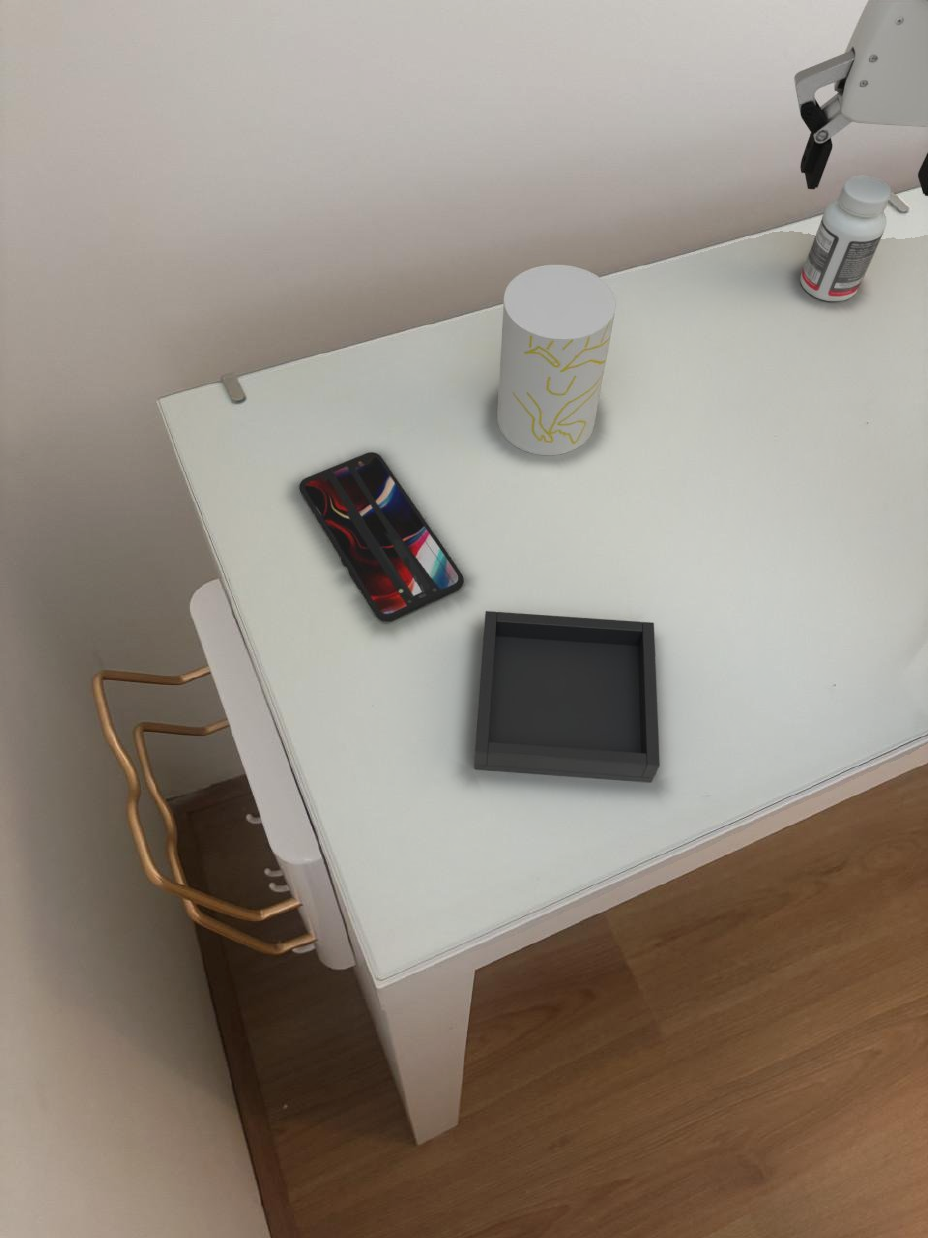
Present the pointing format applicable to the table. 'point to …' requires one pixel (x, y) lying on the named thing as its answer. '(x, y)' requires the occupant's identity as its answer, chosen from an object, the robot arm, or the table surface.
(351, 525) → the smartphone
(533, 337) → the cup
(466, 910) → the table surface
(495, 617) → the tray
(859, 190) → the pill bottle
